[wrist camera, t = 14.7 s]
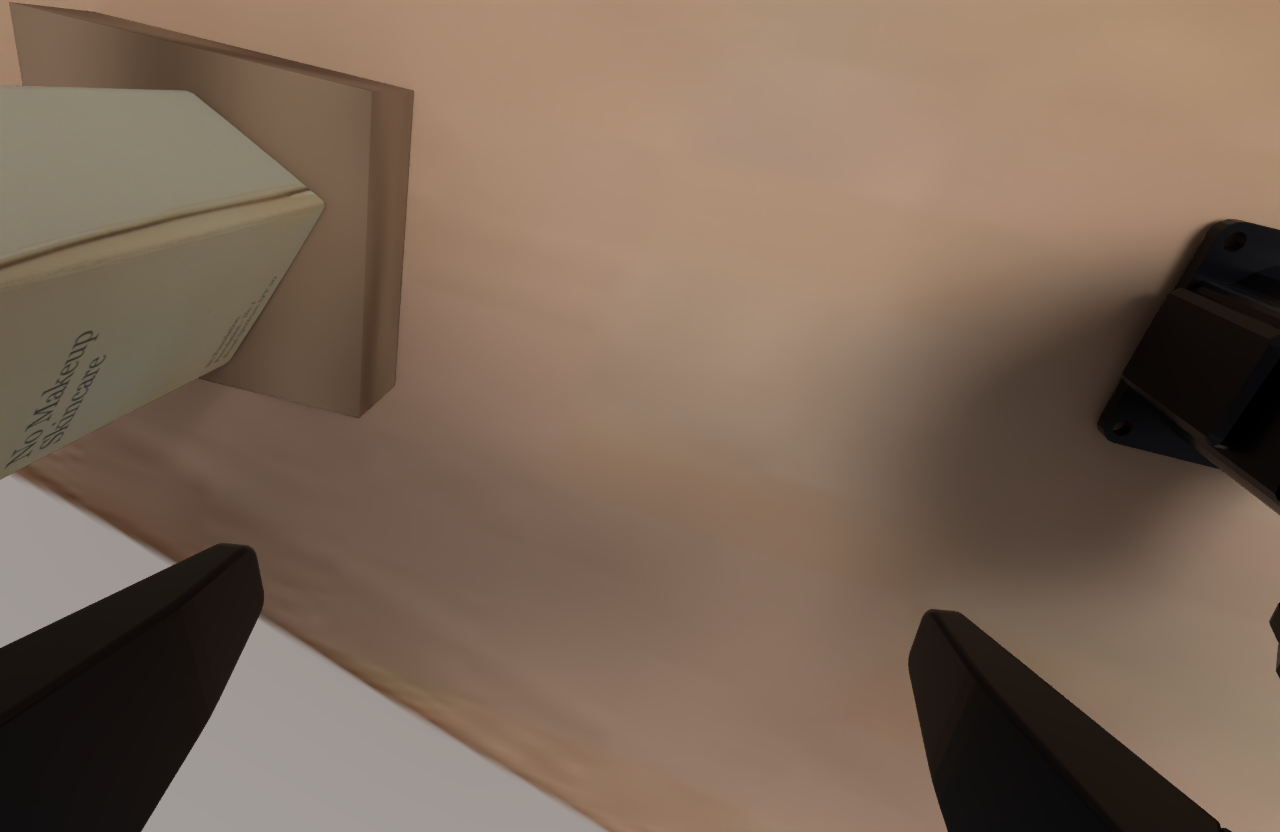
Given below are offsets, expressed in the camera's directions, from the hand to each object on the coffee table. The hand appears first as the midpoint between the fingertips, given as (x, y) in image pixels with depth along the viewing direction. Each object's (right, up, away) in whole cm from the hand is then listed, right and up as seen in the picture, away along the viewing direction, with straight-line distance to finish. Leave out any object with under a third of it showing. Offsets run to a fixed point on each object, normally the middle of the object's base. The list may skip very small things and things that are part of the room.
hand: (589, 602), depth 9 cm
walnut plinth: (-11, +9, +12) cm, 18 cm away
